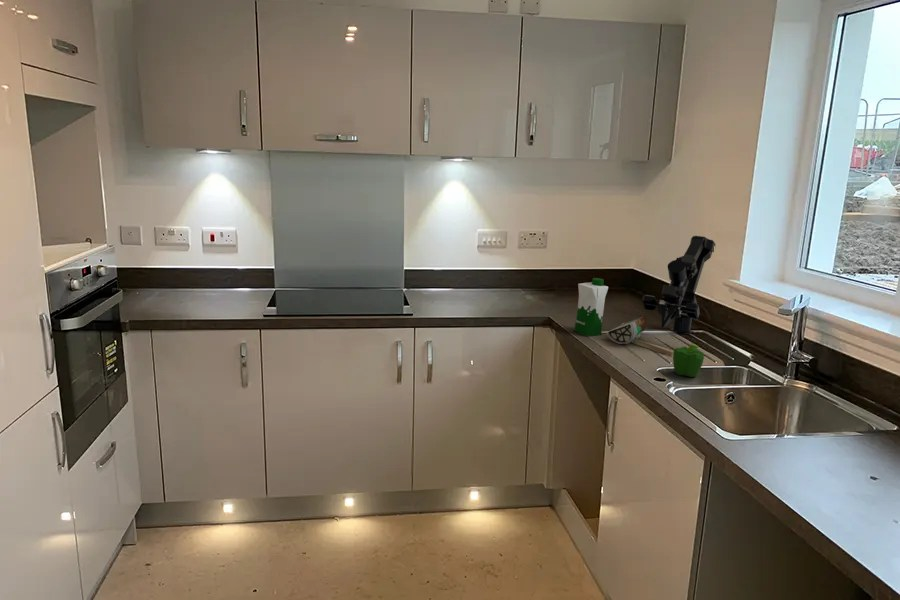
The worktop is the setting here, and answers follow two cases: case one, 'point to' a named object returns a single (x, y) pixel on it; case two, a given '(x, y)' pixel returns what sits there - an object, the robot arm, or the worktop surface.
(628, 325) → the food container
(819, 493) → the worktop surface
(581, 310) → the milk carton
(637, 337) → the white domed puck
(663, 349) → the oak strip
